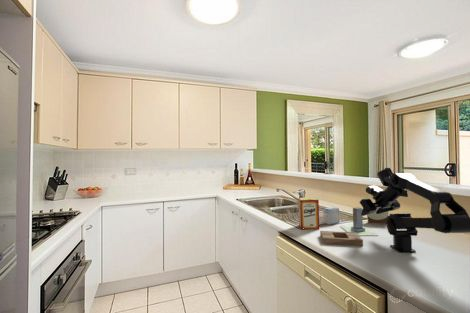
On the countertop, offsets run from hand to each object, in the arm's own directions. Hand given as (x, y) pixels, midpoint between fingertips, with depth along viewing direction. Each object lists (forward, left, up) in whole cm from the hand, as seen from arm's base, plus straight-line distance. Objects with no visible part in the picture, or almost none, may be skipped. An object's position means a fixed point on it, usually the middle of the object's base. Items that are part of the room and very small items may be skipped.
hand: (369, 214), depth 111 cm
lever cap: (+7, +2, -10) cm, 12 cm away
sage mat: (+7, +2, -10) cm, 13 cm away
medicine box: (+22, +10, -11) cm, 26 cm away
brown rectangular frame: (-6, +16, -10) cm, 20 cm away
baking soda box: (+14, +25, -11) cm, 31 cm away
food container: (+22, -15, -11) cm, 28 cm away
